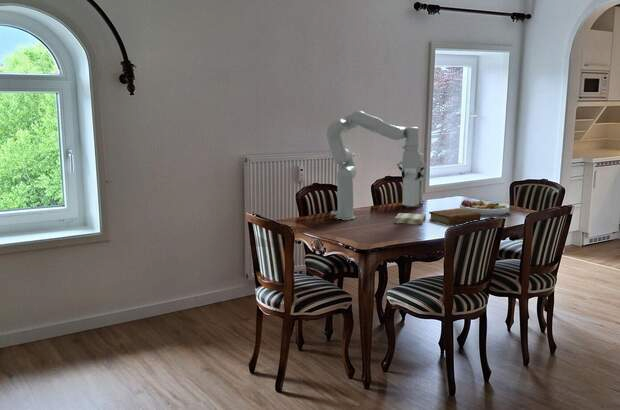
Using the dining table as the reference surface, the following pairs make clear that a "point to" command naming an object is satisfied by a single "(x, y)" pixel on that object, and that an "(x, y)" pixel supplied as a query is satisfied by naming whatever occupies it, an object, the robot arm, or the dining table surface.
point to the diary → (454, 216)
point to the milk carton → (411, 189)
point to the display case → (415, 170)
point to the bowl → (485, 207)
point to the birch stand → (410, 218)
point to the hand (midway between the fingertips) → (411, 178)
